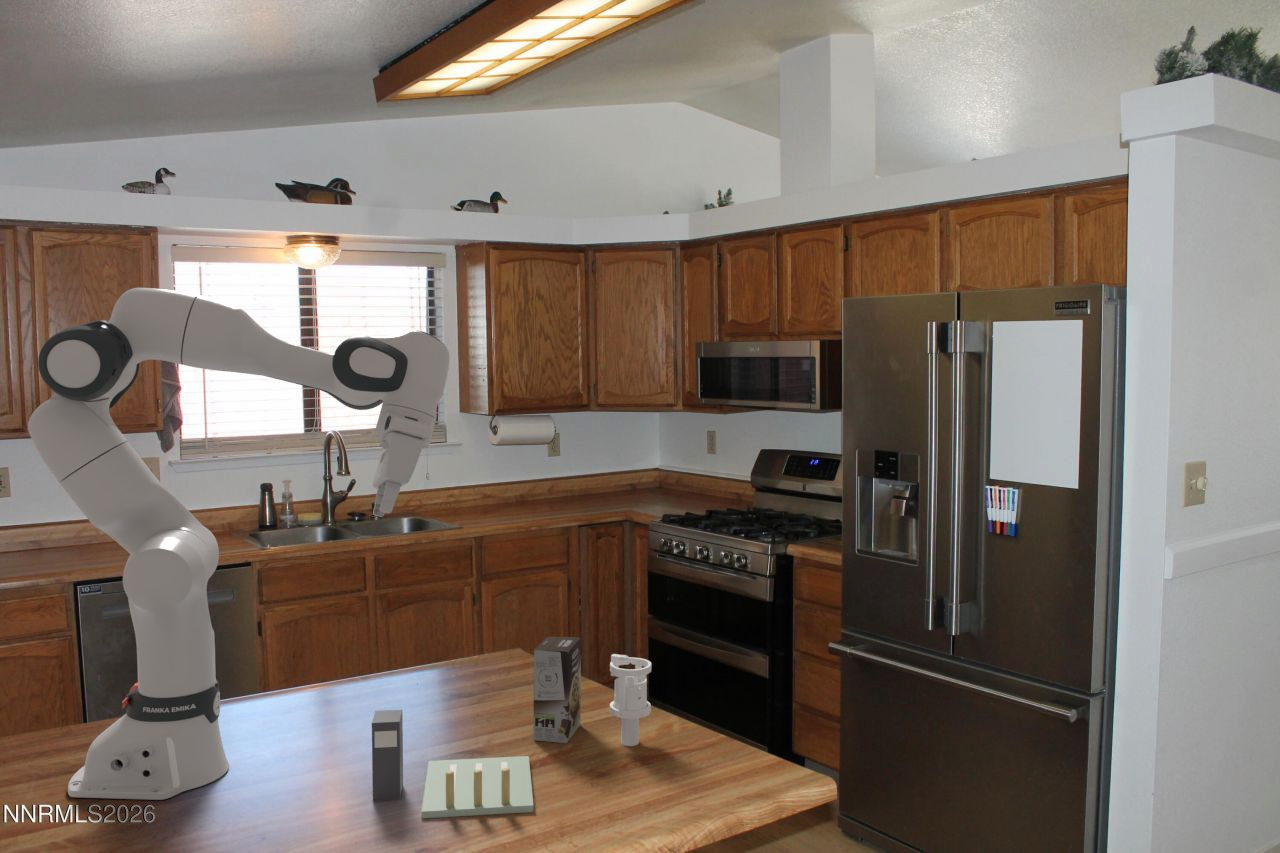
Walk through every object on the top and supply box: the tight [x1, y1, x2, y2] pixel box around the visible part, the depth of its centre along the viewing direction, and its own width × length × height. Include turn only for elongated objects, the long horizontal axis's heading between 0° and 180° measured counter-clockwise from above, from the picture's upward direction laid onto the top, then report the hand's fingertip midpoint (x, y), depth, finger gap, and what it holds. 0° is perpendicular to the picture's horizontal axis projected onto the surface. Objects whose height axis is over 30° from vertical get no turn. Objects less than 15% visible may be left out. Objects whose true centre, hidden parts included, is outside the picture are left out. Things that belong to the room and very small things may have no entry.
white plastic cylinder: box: [609, 653, 652, 747], centre depth 174 cm, size 7×7×15 cm
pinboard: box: [420, 755, 534, 819], centre depth 156 cm, size 16×18×6 cm
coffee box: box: [532, 635, 582, 744], centre depth 178 cm, size 9×6×16 cm
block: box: [371, 709, 404, 802], centre depth 154 cm, size 4×5×12 cm
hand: (381, 514), depth 161 cm, fingers open, 8 cm apart
